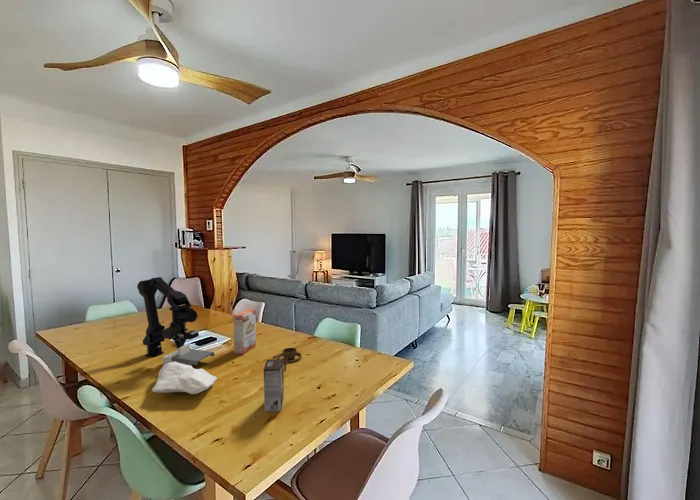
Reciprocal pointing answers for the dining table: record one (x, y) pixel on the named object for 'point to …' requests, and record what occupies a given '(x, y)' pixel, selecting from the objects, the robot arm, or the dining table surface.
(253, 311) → the cracker box
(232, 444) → the dining table surface
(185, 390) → the crumpled cloth
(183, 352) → the lid
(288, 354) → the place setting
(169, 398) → the dining table surface
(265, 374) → the coffee box
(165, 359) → the tray
